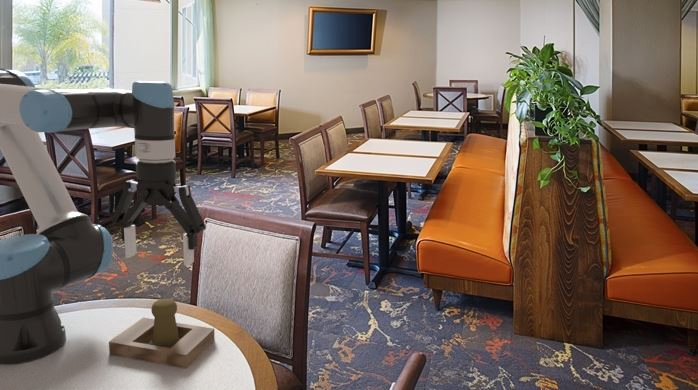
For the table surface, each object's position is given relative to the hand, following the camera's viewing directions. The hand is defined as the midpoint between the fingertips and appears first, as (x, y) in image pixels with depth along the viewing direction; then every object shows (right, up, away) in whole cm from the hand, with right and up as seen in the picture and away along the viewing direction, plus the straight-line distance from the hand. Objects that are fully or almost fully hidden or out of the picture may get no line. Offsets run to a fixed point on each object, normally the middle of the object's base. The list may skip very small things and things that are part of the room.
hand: (159, 259), depth 111 cm
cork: (0, -20, +4) cm, 20 cm away
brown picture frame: (-1, -20, +4) cm, 20 cm away
